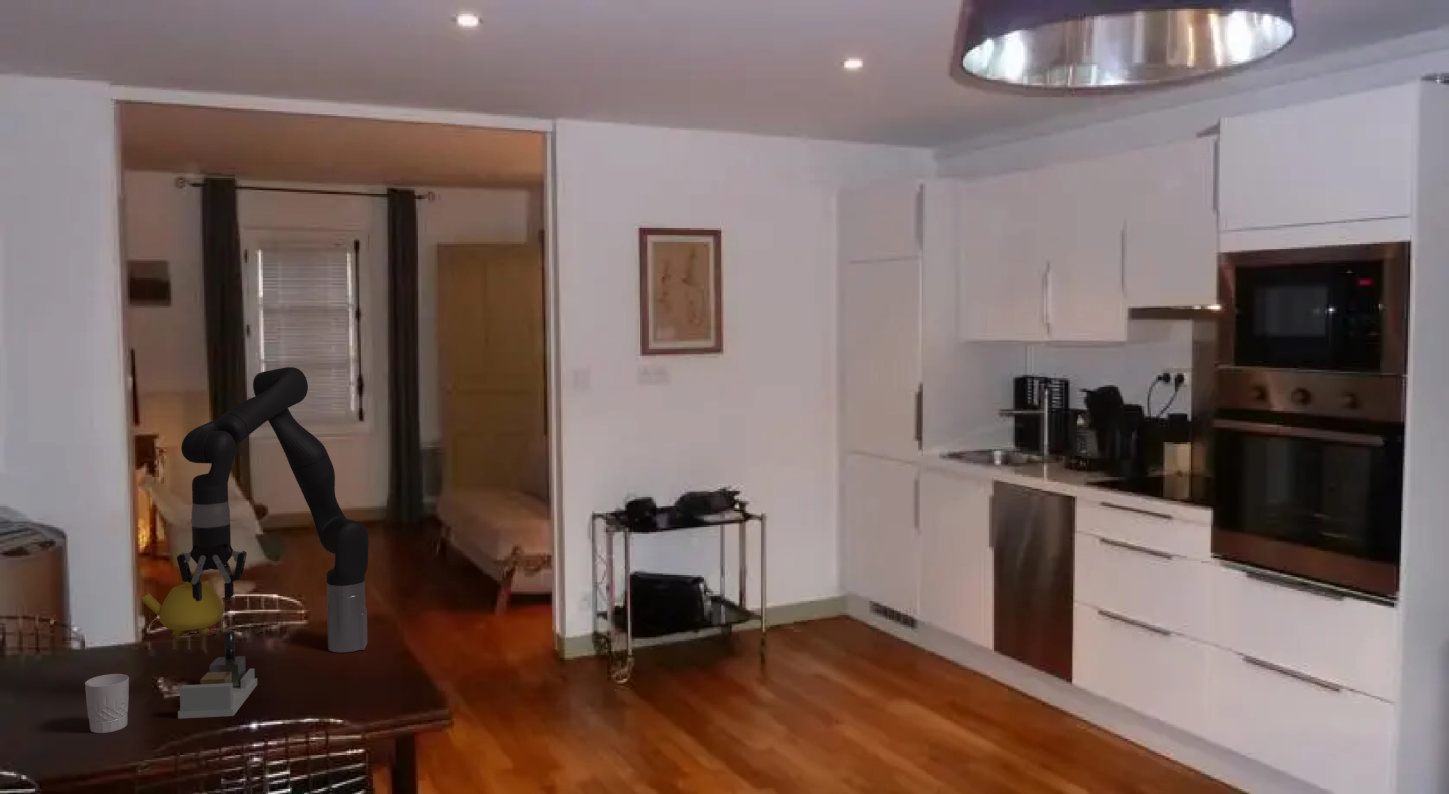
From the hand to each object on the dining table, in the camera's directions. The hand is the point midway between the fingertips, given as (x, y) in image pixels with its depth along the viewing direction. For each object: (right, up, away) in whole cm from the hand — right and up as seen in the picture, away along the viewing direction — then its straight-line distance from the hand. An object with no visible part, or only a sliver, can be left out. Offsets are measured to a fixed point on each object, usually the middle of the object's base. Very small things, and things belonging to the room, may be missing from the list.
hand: (213, 599), depth 238 cm
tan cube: (0, -22, +2) cm, 22 cm away
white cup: (-16, -24, -11) cm, 32 cm away
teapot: (-35, -19, +57) cm, 70 cm away
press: (-1, -23, +4) cm, 24 cm away
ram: (-2, -21, +11) cm, 24 cm away
